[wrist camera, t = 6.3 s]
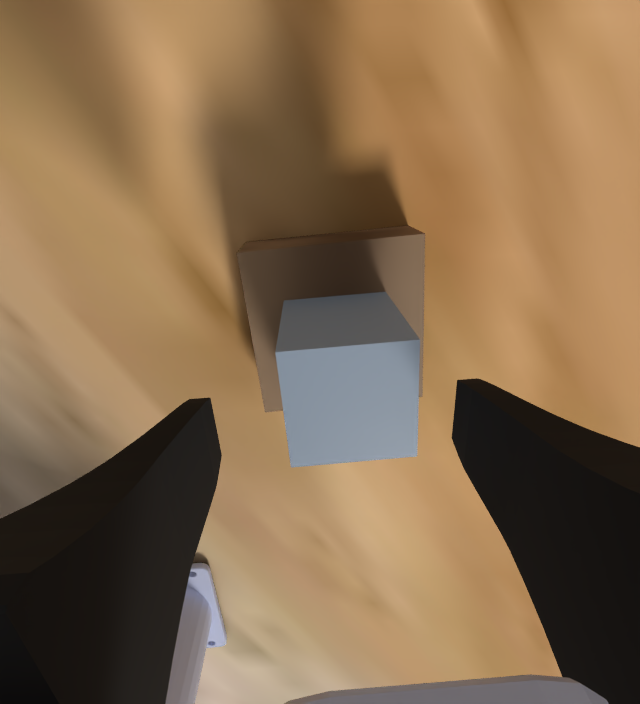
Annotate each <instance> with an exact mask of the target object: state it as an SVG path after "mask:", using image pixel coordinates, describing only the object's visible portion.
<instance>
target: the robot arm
mask: <svg viewBox="0 0 640 704" xmlns="http://www.w3.org/2000/svg"><path fill="white" fill-rule="evenodd" d="M452 440H453V442H454V445H455V448H456V450H457V453H458V456H459V458H460V460H461V463H462V465H463V468H464V469H465V471H466V473H467V475H468V477H469V478H470V480H471V482H472V484H473V485H474V487H475V489H476V491H477V492H478V494H479V496H480V498H481V499H482V501H483V503H484V505H485V506H486V508H487V510H488V511H489V513H490V515H491V517H492V518H493V520H494V522H495V524H496V525H497V527H498V529H499V531H500V532H501V534H502V536H503V538H504V540H505V542H506V544H507V546H508V547H509V549H510V551H511V554H512V556H513V558H514V560H515V563H516V565H517V567H518V569H519V572H520V574H521V576H522V578H523V580H524V583H525V585H526V587H527V590H528V592H529V594H530V597H531V599H532V602H533V604H534V606H535V609H536V611H537V613H538V616H539V618H540V621H541V623H542V625H543V628H544V630H545V633H546V636H547V638H548V641H549V643H550V646H551V648H552V651H553V653H554V656H555V659H556V661H557V664H558V666H559V669H560V671H561V674H562V677H554V676H541V675H519V676H507V677H495V678H483V679H471V680H459V681H447V682H435V683H423V684H411V685H399V686H387V687H375V688H363V689H351V690H338V691H328V692H324V693H320V694H316V695H311V696H307V697H303V698H299V699H294V700H290V701H288V702H286V703H285V704H640V447H637V446H633V445H630V444H627V443H624V442H621V441H619V440H616V439H613V438H610V437H608V436H605V435H602V434H599V433H597V432H594V431H591V430H589V429H586V428H584V427H581V426H579V425H577V424H574V423H572V422H570V421H568V420H565V419H563V418H561V417H558V416H556V415H554V414H552V413H550V412H547V411H545V410H543V409H541V408H539V407H537V406H535V405H533V404H531V403H529V402H527V401H525V400H523V399H521V398H519V397H517V396H515V395H513V394H511V393H509V392H507V391H505V390H503V389H501V388H499V387H497V386H495V385H492V384H490V383H488V382H486V381H483V380H481V379H466V380H457V389H456V400H455V410H454V421H453V431H452ZM221 456H222V455H221V450H220V444H219V439H218V434H217V429H216V424H215V419H214V414H213V409H212V404H211V399H210V398H200V399H189V400H187V401H186V402H184V403H183V404H182V405H180V406H179V407H178V408H176V409H175V410H174V411H173V412H171V413H170V414H169V415H168V416H166V417H165V418H164V419H163V420H161V421H160V422H159V423H158V424H156V425H155V426H154V427H153V428H151V429H150V430H149V431H148V432H146V433H145V434H144V435H142V436H141V437H140V438H138V439H137V440H136V441H134V442H133V443H131V444H130V445H129V446H127V447H126V448H125V449H123V450H122V451H120V452H119V453H118V454H116V455H115V456H114V457H112V458H111V459H109V460H108V461H106V462H105V463H103V464H102V465H100V466H98V467H97V468H95V469H94V470H92V471H90V472H89V473H87V474H85V475H84V476H82V477H80V478H79V479H77V480H75V481H74V482H72V483H70V484H68V485H67V486H65V487H63V488H61V489H59V490H57V491H55V492H53V493H51V494H50V495H48V496H46V497H44V498H42V499H40V500H38V501H36V502H34V503H32V504H30V505H29V506H26V507H24V508H22V509H20V510H18V511H16V512H14V513H12V514H10V515H7V516H5V517H3V518H1V519H0V704H195V700H196V695H197V690H198V686H199V681H200V676H201V671H202V666H203V661H204V656H205V651H206V648H211V647H221V646H224V645H225V644H226V641H227V635H226V631H225V627H224V623H223V619H222V615H221V611H220V607H219V603H218V599H217V595H216V591H215V587H214V583H213V579H212V575H211V571H210V567H209V566H208V565H207V564H205V563H193V560H194V556H195V553H196V550H197V547H198V544H199V540H200V537H201V534H202V531H203V528H204V525H205V521H206V518H207V515H208V512H209V509H210V506H211V502H212V499H213V496H214V492H215V489H216V486H217V480H218V475H219V469H220V462H221ZM192 563H193V564H192Z"/></svg>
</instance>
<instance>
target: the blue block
mask: <svg viewBox="0 0 640 704" xmlns="http://www.w3.org/2000/svg"><path fill="white" fill-rule="evenodd" d="M275 354H276V361H277V368H278V376H279V383H280V390H281V397H282V405H283V412H284V419H285V427H286V434H287V441H288V448H289V456H290V463H291V467H301V466H313V465H324V464H335V463H347V462H358V461H369V460H381V459H392V458H403V457H415V456H417V440H418V402H419V363H420V339H419V337H418V336H417V334H416V333H415V332H414V330H413V329H412V328H411V326H410V325H409V323H408V322H407V321H406V319H405V318H404V316H403V315H402V314H401V312H400V311H399V309H398V308H397V307H396V305H395V304H394V302H393V301H392V300H391V298H390V297H389V296H388V294H387V293H386V292H377V293H365V294H354V295H342V296H331V297H319V298H308V299H296V300H284V302H283V309H282V315H281V321H280V327H279V333H278V339H277V345H276V351H275Z"/></svg>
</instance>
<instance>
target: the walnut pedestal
mask: <svg viewBox="0 0 640 704" xmlns="http://www.w3.org/2000/svg"><path fill="white" fill-rule="evenodd" d="M237 257H238V263H239V269H240V274H241V280H242V285H243V291H244V297H245V302H246V308H247V314H248V319H249V325H250V330H251V336H252V342H253V347H254V353H255V359H256V364H257V370H258V375H259V381H260V387H261V392H262V398H263V403H264V409H265V412H273V411H283V405H282V397H281V390H280V383H279V376H278V368H277V361H276V354H275V351H276V345H277V339H278V333H279V327H280V321H281V315H282V309H283V302H284V300H296V299H308V298H319V297H331V296H342V295H354V294H365V293H377V292H386V293H387V294H388V296H389V297H390V298H391V300H392V301H393V302H394V304H395V305H396V307H397V308H398V309H399V311H400V312H401V314H402V315H403V316H404V318H405V319H406V321H407V322H408V323H409V325H410V326H411V328H412V329H413V330H414V332H415V333H416V334H417V336H418V337H419V339H420V363H419V397H422V393H423V331H424V269H425V233H423V232H421V231H419V230H416V229H414V228H412V227H410V226H398V227H388V228H378V229H369V230H359V231H349V232H339V233H329V234H320V235H310V236H300V237H290V238H280V239H271V240H261V241H251V242H246V243H245V244H244V245H243V246H242V247H241V248H240V250H239V251H238V252H237Z"/></svg>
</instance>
